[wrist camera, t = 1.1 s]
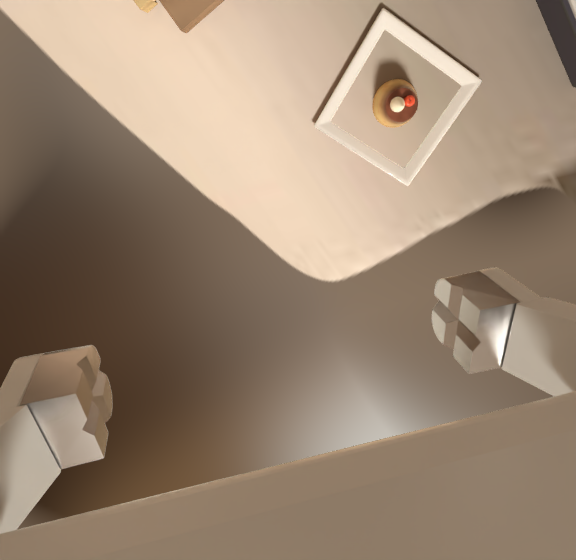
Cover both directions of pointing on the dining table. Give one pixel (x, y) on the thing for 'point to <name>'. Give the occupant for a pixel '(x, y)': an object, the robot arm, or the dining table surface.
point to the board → (189, 11)
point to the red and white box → (562, 31)
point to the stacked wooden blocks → (146, 4)
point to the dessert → (398, 98)
